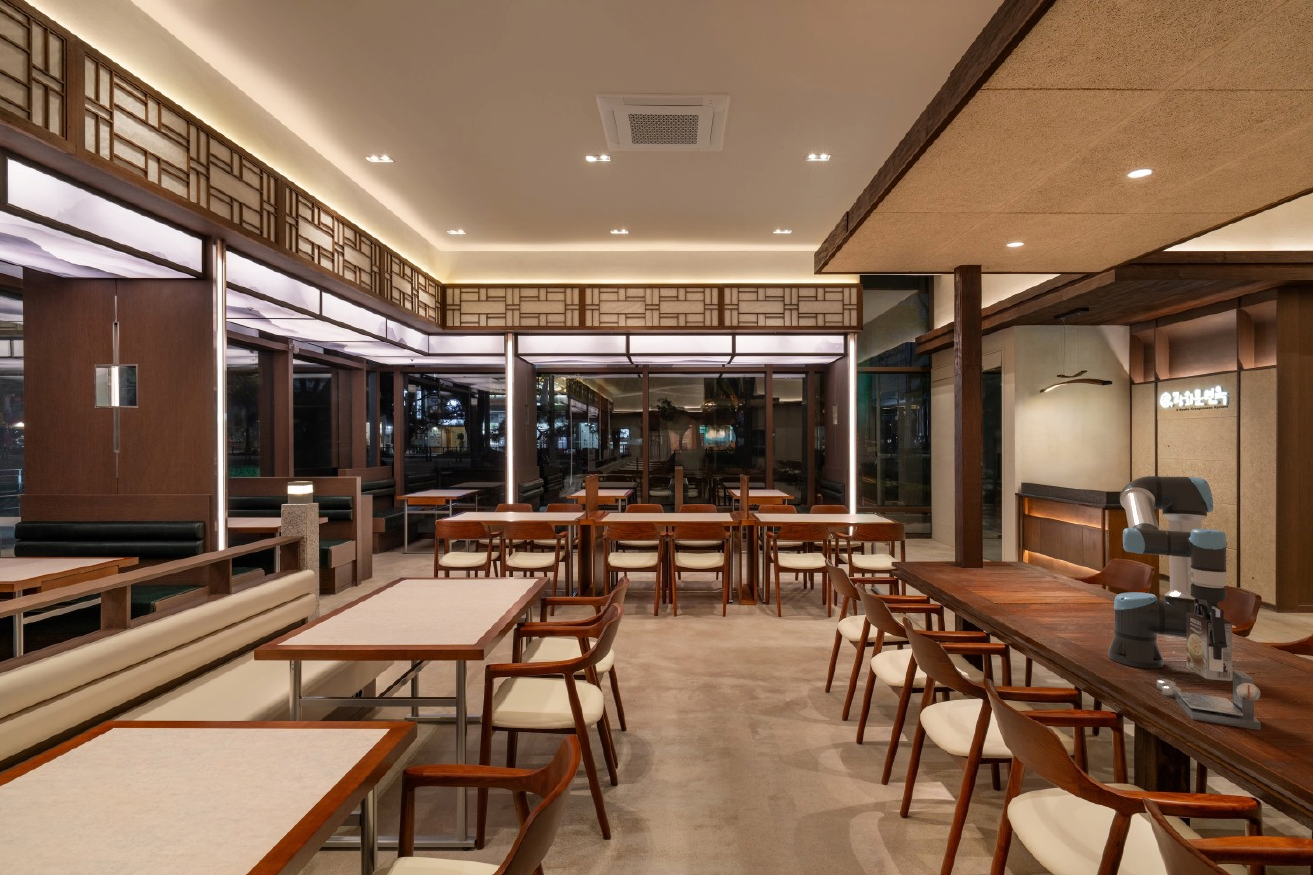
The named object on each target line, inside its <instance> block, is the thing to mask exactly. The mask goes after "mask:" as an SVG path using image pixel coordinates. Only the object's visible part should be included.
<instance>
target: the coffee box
mask: <svg viewBox="0 0 1313 875" xmlns="http://www.w3.org/2000/svg"><path fill="white" fill-rule="evenodd" d="M1224 625H1225V634H1226V643H1227V648H1223V672H1219V671H1212V670H1209V646H1208V644H1211V643H1210V630H1212V627H1211V620H1205V619H1204V618H1203V616H1202V614H1197V613H1186V631H1187V632H1186V638H1185V639H1186V641H1185V642H1186V644H1185V646H1186V653H1185V654H1186V669H1188V670H1191V671H1192V672H1194V673H1196V674H1197V675H1199V676H1201V677H1202V678H1204V679H1206V680H1216V681H1226V682H1227V681H1229V682H1231V681H1232V682H1233V622H1231V621H1229V620H1227V619H1224Z"/></svg>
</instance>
